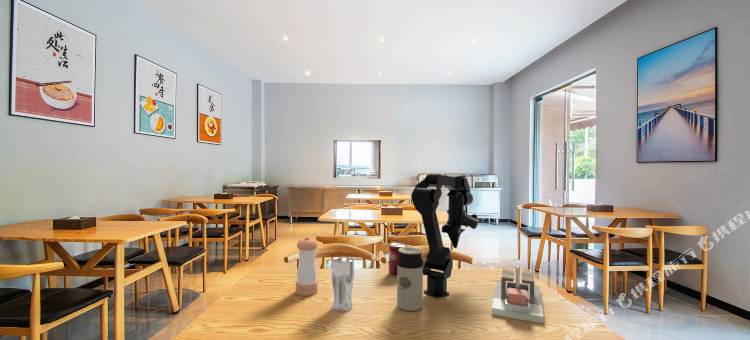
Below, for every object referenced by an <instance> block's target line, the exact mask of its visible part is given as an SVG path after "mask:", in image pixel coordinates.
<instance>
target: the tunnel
mask: <svg viewBox="0 0 750 340" xmlns="http://www.w3.org/2000/svg"><path fill="white" fill-rule="evenodd" d="M501 272H502V273H501V276H500V277H501V278H500V279H501V280H500V281H501V299H504V298H505V290H506V282H513V283H515V282H514V280H515V278H514V277H515V270H514V269H509V268H502V271H501ZM534 275H535V274H534V272H531V271H523V270H521V284H528V285H530V304H534V285H535V276H534Z"/></svg>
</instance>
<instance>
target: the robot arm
mask: <svg viewBox="0 0 750 340" xmlns="http://www.w3.org/2000/svg"><path fill="white" fill-rule="evenodd" d="M430 186H436V188H429V187H430ZM441 187H444V188H446V189H447V190H448V191H449V192H447V194H446V196H447V197H448V209H447V210H446V213H447V214H448V215H447V219H448V220H446V223H445V224H443V225H442V226H441V229H440V225H439V219H438V215H437V209H438V206H439V205H440V199H441V197H442V195H443V192H442V188H441ZM410 198H411V202H412V205H413V207H414V209H415V210H416V211H417V212H418V214H420V216H421V219H422V223H423V228H424V232H425V236H426V241H427V245H428V249H429V250H428V252H427V254H426V261H425V262H424V264H423V276H427V277H426V289H425V290H423V293H425V294H427V295H429V296H431V297H434V298H436V299H437V298H441V297H445V296H448V295H450V292H449V291H447V287H448V285H447V283H448V281H447V280H448V279H449V278H450V277H451V276H452V270H453V265H454V263H453V259H452V258H453V257H452V255H451V254H452V253H451V249H450V248H449V247H447V246H444V244H443V243H444V242H443V239H442V234H441V233H444V234H447V236H448V238H449V240H450V243H451V244H452V247H453V249H457V248H458V244H459V241H460V237H461V235H462V233H463V232H465V230H466V229H464V228H462V227H465V228H468V227H469V228H470V229H472V230H475V229H477V228H478V227H477V226H478V225H479V223H480V218H478V215H477V214H475V213H472V215H470V214H467V213H466V210H465V207H464V206H469V205H471V204H472V203H473V201H474V196H473V195H472V193H471V188H470V184H469V181H468V178H467V177H466V175H465V174H446V175H444V174H440V173H428V174H426V176H425V177H424V179H422V180H421V181H420V182H418V183H417V184H416V185H415V186H414V189H412V192H411V194H410Z"/></svg>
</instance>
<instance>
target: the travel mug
mask: <svg viewBox="0 0 750 340" xmlns="http://www.w3.org/2000/svg"><path fill="white" fill-rule="evenodd" d="M399 253H400V256H399V258H398V268H397V276H396V279H397V281H396V284H397V285H396V305H397V307H398V308H399V309H401V310H403V311H405V312H406V311H407V312H415V311H419V310H420V309H422V308H423V293H424V290H423V288H424V287H423V284H424V281H423V280H424V275H423V267H424V260H423V258H422V253H423V249H422V248H421V247H414V246H413V247H412V246H407V247H403V248H400V249H399Z"/></svg>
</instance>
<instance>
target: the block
mask: <svg viewBox="0 0 750 340" xmlns="http://www.w3.org/2000/svg"><path fill="white" fill-rule="evenodd" d="M526 298H527V295H526V290H522V289H515V288H509V289H508V303H510V304H516V305H522V306H526Z"/></svg>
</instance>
